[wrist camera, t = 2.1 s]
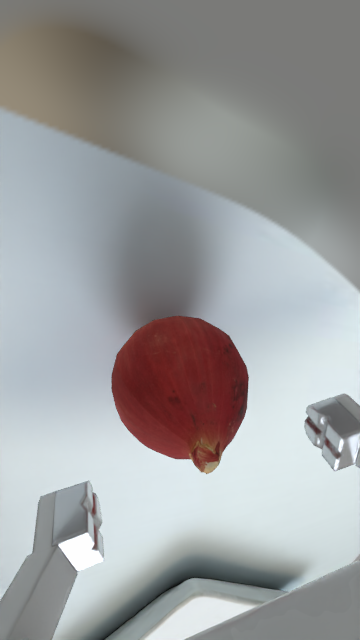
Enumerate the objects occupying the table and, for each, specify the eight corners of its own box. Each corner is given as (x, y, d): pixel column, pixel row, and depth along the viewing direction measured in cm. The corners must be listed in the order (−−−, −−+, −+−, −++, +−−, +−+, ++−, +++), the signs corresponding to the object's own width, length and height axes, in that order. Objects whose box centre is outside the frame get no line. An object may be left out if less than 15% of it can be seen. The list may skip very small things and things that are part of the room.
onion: (210, 279, 16) (308, 379, 9) (211, 366, 19) (286, 490, 12) (95, 300, 14) (111, 433, 8) (116, 389, 17) (140, 541, 11)
